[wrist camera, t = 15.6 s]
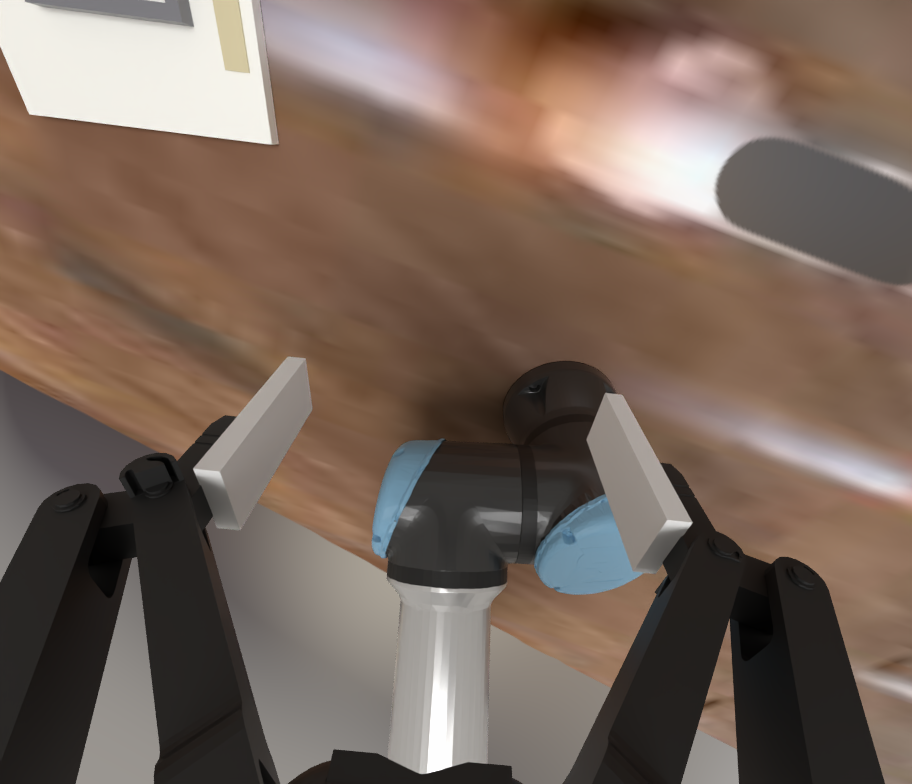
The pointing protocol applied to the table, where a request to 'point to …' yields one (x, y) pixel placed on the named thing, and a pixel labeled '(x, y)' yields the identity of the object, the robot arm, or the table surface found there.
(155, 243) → the table surface
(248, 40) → the white board
